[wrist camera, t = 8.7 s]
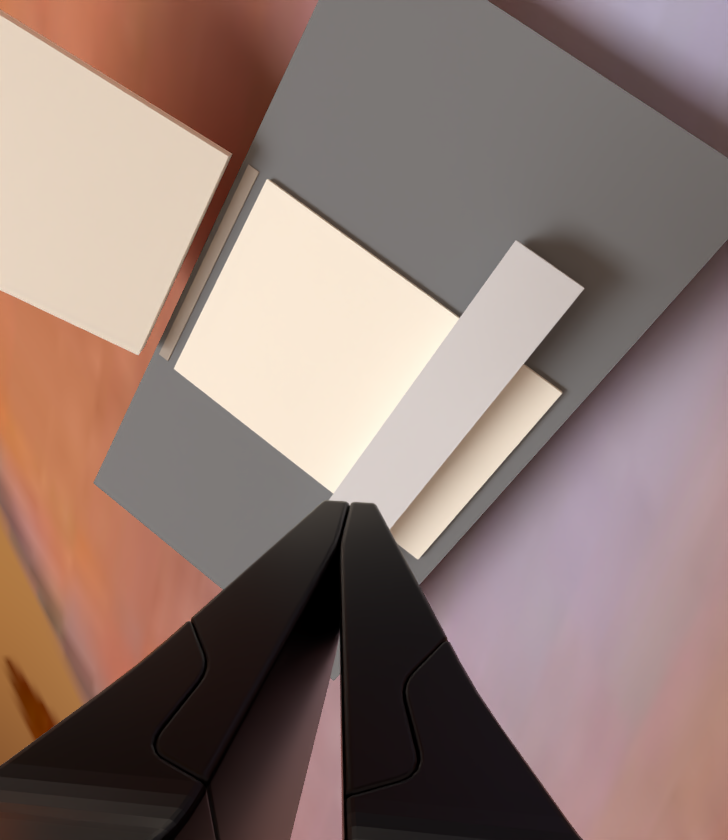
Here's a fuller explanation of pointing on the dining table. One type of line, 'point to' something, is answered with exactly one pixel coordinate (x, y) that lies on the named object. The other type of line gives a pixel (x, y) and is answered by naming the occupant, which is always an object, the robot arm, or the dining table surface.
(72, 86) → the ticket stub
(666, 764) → the dining table surface
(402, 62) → the board
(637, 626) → the dining table surface
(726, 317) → the dining table surface
